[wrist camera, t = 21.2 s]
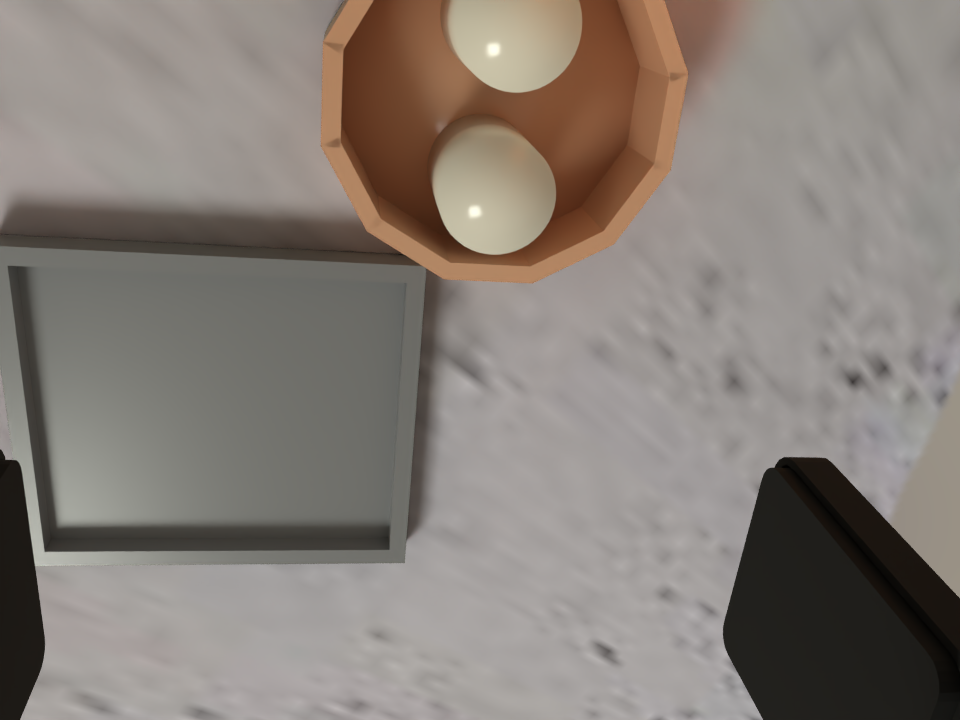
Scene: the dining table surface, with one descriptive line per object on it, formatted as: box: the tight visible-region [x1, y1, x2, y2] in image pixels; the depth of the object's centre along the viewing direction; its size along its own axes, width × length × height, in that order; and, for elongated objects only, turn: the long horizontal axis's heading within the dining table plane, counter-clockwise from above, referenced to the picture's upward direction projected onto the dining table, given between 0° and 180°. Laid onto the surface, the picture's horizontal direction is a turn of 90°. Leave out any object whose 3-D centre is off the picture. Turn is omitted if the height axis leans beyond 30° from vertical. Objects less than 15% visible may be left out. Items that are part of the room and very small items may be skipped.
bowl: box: [321, 0, 688, 283], centre depth 35 cm, size 13×13×4 cm
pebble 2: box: [427, 114, 556, 255], centre depth 35 cm, size 4×4×5 cm
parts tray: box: [0, 235, 426, 566], centre depth 40 cm, size 16×18×2 cm
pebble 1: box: [440, 0, 582, 93], centre depth 32 cm, size 4×4×5 cm
